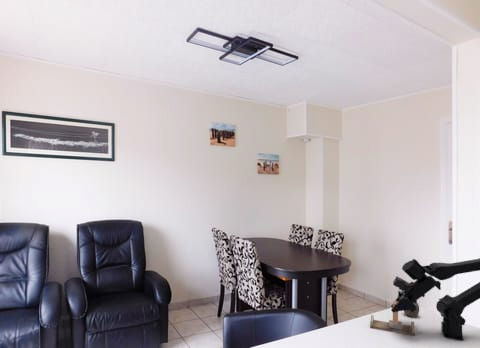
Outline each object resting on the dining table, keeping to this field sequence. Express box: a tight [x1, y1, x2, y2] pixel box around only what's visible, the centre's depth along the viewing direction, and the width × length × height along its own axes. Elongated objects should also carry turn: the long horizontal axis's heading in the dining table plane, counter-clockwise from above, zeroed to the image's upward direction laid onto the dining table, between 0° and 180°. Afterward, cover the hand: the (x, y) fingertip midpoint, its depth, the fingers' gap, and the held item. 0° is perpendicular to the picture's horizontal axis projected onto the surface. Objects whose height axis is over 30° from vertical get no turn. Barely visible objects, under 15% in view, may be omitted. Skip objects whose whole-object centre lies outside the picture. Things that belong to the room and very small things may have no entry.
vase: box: [403, 301, 420, 318], centre depth 153 cm, size 7×7×9 cm
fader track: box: [370, 314, 416, 337], centre depth 139 cm, size 17×7×3 cm, turn 66°
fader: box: [388, 300, 403, 330], centre depth 139 cm, size 5×6×10 cm
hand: (391, 309), depth 140 cm, fingers closed on fader, 4 cm apart
